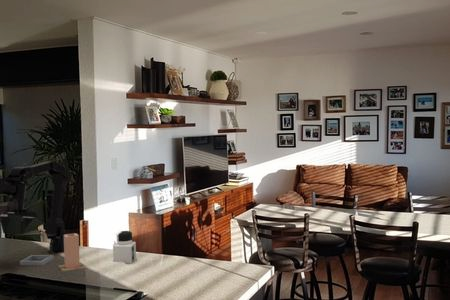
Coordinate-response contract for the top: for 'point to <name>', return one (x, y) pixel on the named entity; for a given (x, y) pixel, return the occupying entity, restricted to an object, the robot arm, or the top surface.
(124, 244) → the container
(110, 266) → the top surface
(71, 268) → the stake block
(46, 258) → the tray
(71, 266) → the sleeve
